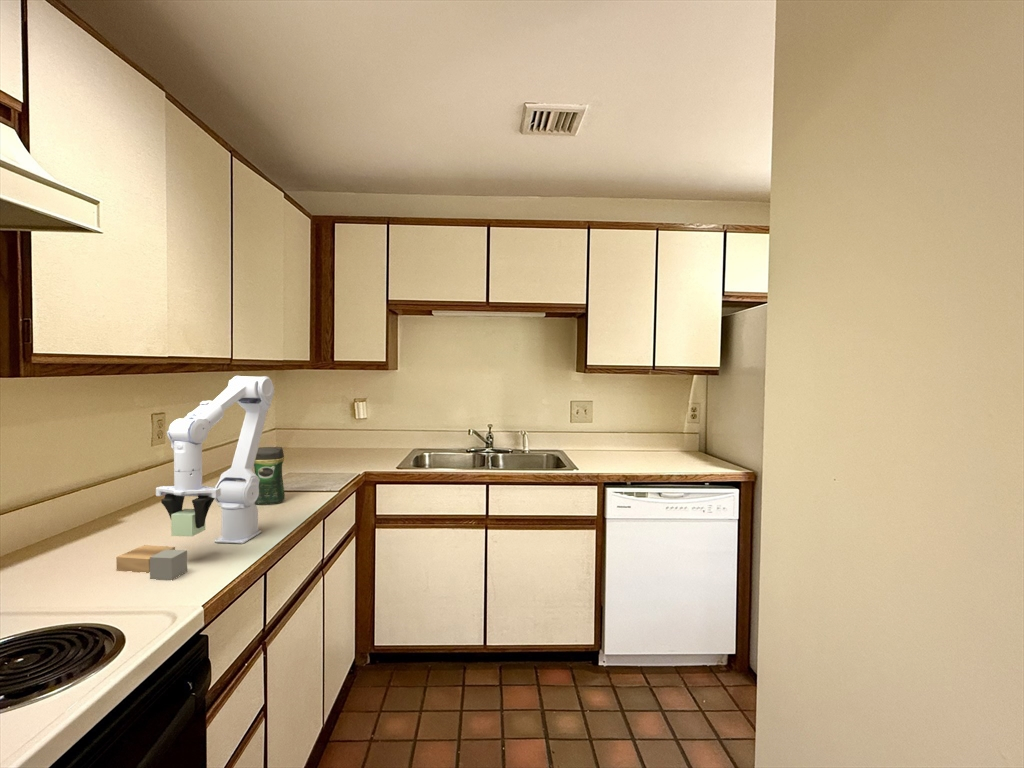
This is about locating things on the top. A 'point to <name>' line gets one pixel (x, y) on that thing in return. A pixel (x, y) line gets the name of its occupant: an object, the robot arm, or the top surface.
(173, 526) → the sage cube
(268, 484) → the coffee jar
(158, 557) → the charcoal cube
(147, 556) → the walnut base
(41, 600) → the top surface
